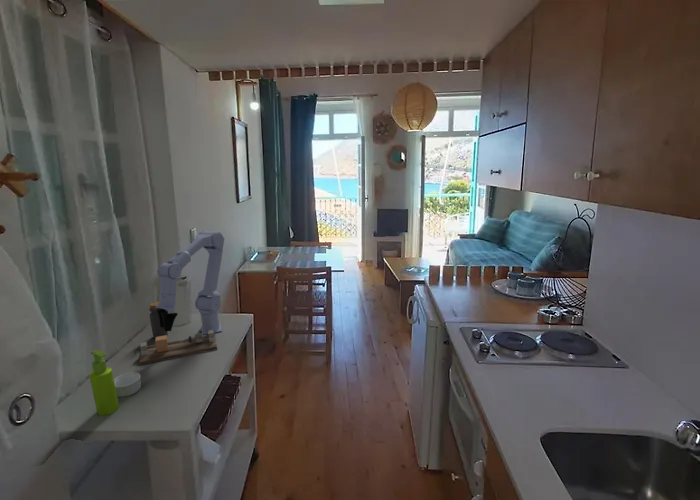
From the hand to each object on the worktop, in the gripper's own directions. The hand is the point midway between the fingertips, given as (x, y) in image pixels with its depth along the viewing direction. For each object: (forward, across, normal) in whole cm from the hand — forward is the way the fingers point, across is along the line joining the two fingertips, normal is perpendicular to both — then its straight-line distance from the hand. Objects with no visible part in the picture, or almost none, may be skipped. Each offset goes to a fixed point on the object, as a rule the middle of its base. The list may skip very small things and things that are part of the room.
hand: (165, 329), depth 158 cm
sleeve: (+9, -4, 0) cm, 10 cm away
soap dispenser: (+19, +24, -20) cm, 37 cm away
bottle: (+8, -22, +3) cm, 24 cm away
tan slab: (+9, -3, +6) cm, 12 cm away
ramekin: (+17, +16, -14) cm, 27 cm away
